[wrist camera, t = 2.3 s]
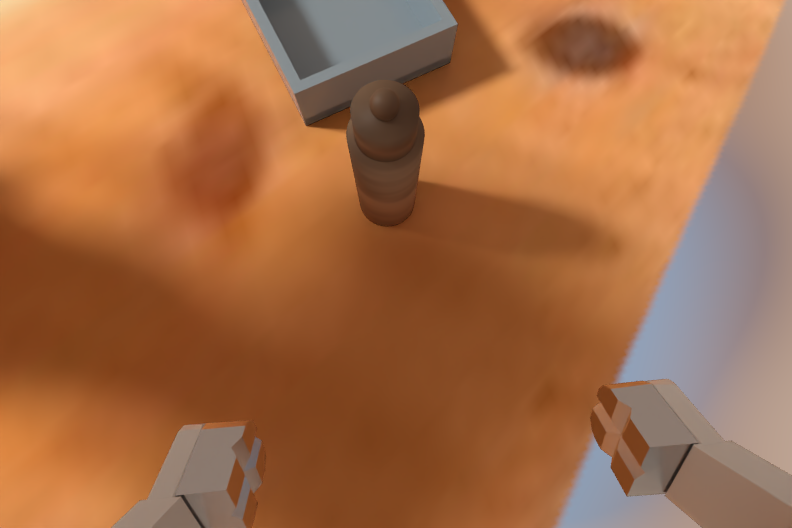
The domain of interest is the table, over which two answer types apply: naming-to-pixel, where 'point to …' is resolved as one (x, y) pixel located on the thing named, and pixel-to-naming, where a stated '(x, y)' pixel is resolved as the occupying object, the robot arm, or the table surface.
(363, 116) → the pepper mill
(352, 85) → the serving tray
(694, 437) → the robot arm
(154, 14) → the table surface
